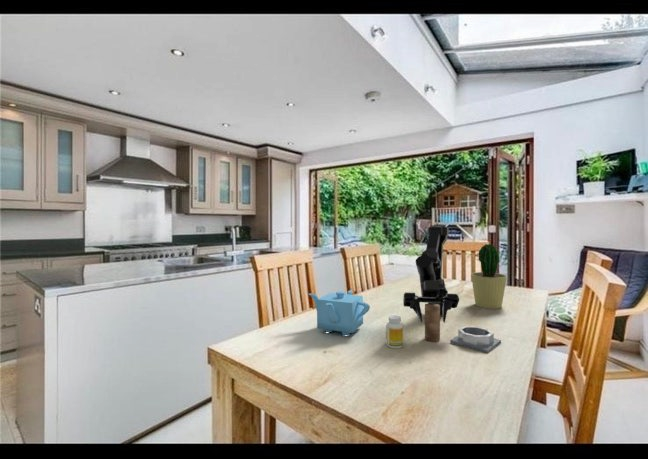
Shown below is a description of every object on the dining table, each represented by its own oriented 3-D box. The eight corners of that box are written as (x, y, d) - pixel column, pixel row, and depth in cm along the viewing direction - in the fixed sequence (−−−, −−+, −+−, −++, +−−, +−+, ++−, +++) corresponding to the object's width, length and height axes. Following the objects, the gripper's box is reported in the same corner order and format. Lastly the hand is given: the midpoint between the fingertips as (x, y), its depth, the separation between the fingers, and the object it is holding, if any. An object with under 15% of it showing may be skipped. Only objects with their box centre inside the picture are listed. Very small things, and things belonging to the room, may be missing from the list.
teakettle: (373, 335, 121) (373, 295, 121) (325, 342, 115) (324, 299, 114) (351, 320, 139) (351, 285, 138) (308, 326, 132) (307, 288, 132)
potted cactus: (507, 303, 163) (508, 242, 162) (505, 311, 150) (506, 244, 149) (473, 300, 171) (473, 241, 170) (468, 306, 158) (468, 243, 157)
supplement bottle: (383, 344, 112) (383, 316, 112) (396, 341, 115) (396, 313, 114) (393, 349, 108) (393, 320, 107) (406, 347, 110) (406, 318, 110)
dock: (450, 343, 113) (450, 331, 113) (465, 334, 121) (465, 323, 121) (487, 353, 104) (487, 340, 104) (501, 342, 113) (501, 331, 113)
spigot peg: (422, 339, 117) (422, 305, 116) (429, 335, 120) (429, 302, 120) (435, 343, 113) (435, 307, 113) (442, 339, 117) (442, 305, 116)
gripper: (403, 270, 121) (406, 308, 111) (458, 271, 118) (466, 310, 108) (402, 287, 129) (404, 324, 119) (452, 288, 126) (460, 327, 116)
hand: (433, 321), depth 115 cm, fingers open, 7 cm apart
